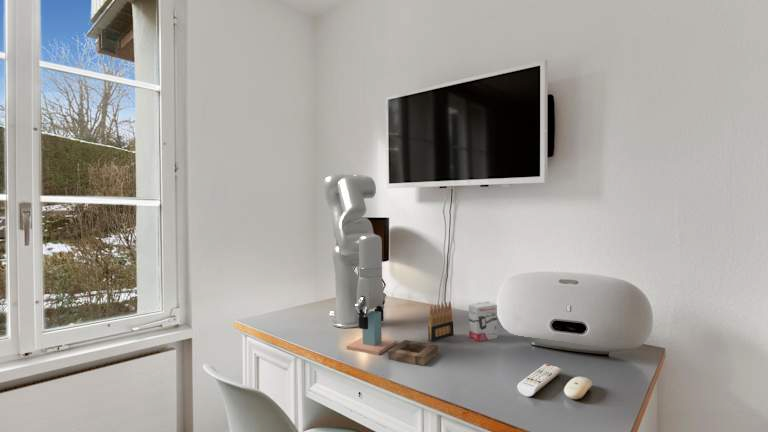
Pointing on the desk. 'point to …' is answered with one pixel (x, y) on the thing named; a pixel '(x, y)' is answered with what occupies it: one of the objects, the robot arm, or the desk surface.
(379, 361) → the desk surface
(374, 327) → the teal block
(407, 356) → the holder
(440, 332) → the ammunition clip
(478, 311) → the ink box
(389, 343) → the tile
